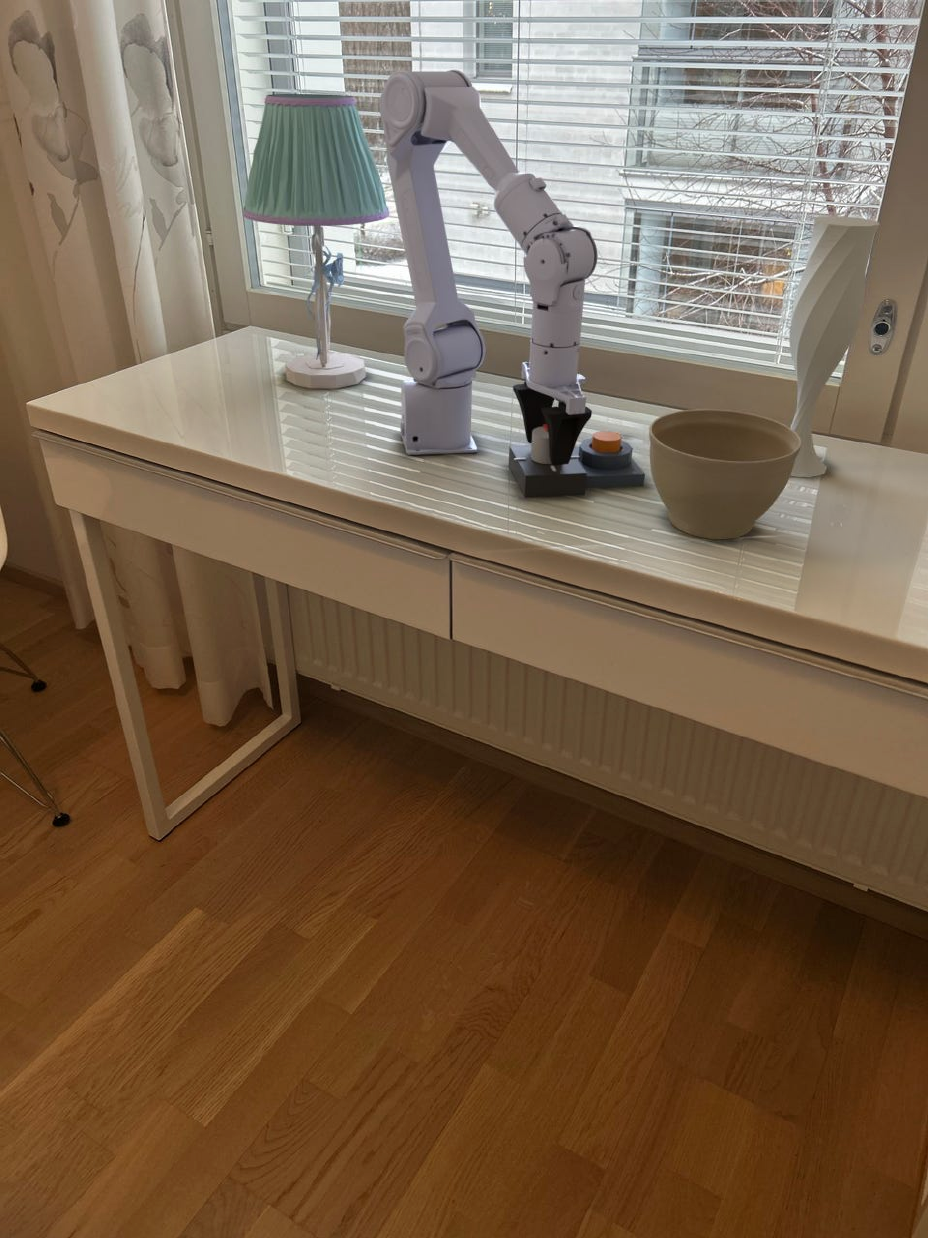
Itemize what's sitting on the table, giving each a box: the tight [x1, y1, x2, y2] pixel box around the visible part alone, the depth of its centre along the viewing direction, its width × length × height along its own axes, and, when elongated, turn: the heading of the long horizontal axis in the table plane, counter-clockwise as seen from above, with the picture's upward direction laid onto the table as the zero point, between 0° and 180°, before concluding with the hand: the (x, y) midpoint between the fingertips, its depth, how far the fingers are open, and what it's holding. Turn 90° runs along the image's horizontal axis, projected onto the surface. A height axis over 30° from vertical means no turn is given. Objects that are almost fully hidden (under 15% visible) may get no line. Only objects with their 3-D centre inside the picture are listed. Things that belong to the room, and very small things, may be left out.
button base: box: [573, 437, 646, 489], centre depth 119 cm, size 10×8×4 cm
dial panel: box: [507, 444, 587, 499], centre depth 117 cm, size 10×8×3 cm
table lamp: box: [242, 93, 390, 390], centre depth 142 cm, size 22×22×40 cm
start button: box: [591, 430, 622, 453], centre depth 118 cm, size 4×4×2 cm
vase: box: [788, 215, 881, 478], centre depth 116 cm, size 9×8×30 cm
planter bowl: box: [648, 408, 801, 540], centre depth 105 cm, size 16×16×11 cm
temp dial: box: [531, 424, 551, 464], centre depth 115 cm, size 4×4×4 cm
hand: (547, 452), depth 116 cm, fingers open, 7 cm apart
